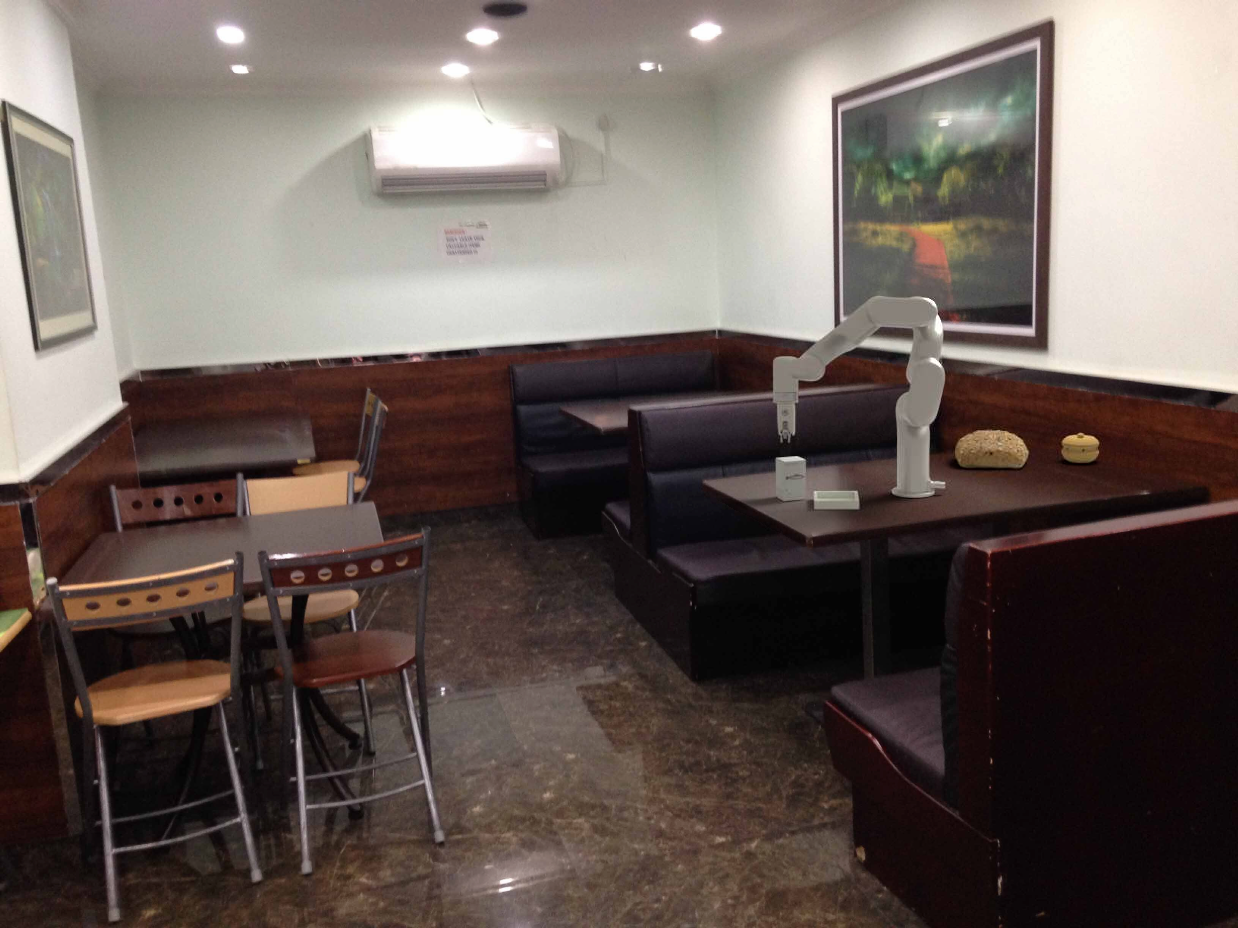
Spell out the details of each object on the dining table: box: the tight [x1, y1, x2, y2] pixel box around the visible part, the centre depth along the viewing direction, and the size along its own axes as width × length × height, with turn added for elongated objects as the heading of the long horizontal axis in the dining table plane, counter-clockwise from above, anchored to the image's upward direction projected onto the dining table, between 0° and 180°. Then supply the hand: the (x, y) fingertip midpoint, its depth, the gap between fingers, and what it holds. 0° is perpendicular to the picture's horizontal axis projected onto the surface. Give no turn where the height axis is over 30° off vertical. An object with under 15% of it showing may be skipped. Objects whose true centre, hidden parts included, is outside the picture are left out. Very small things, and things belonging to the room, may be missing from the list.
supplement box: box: [775, 455, 807, 502], centre depth 320 cm, size 7×7×13 cm
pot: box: [1060, 432, 1100, 464], centre depth 352 cm, size 12×12×10 cm
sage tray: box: [813, 490, 860, 510], centre depth 311 cm, size 13×13×2 cm
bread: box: [954, 429, 1030, 469], centre depth 356 cm, size 24×21×12 cm
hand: (785, 452), depth 319 cm, fingers open, 9 cm apart
